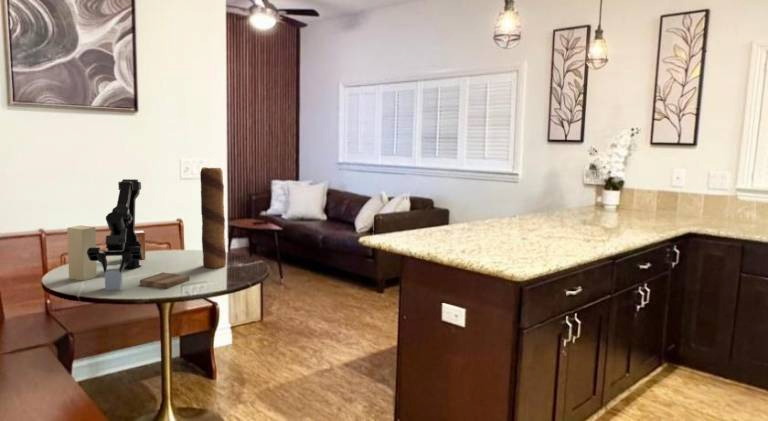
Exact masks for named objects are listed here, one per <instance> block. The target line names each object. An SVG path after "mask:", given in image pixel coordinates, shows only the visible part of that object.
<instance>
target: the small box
mask: <svg viewBox="0 0 768 421" xmlns="http://www.w3.org/2000/svg"><path fill="white" fill-rule="evenodd" d="M135 233H136V235H137V236H138V241H140V244H141V247H142V259H140V260H139V261H142V260H146V232H145V231H144V230H142V229H141V230H135Z"/></svg>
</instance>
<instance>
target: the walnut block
mask: <svg viewBox="0 0 768 421" xmlns="http://www.w3.org/2000/svg"><path fill="white" fill-rule="evenodd" d="M189 281H190V275H185V274H176V273H172V272H171V273H169V272H160V273H157V274H154V275H150V276H148V277H145V278H142V279H140V280H139V285H140V286H147V287H153V288H160V289H168V290H169V289H171V288H172V287H175V286H178V285H181V284H183V283H186V282H189Z"/></svg>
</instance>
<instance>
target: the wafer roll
mask: <svg viewBox="0 0 768 421" xmlns="http://www.w3.org/2000/svg"><path fill="white" fill-rule="evenodd" d="M223 175H224V174H223V170H222V168H221V167H201V169H200V175H199V176H200V201H201V202H200V210H201V213H200V214H201V222H202V224H201V225H202V226H201V245H202V246H201V248H202V249H201V250H202V264H203V267H204V268H207V269H221V268H223V267H225V266H226V265H227V252H226V241H225V240H226V238H225V228H226V227H225V226H226V224H225V223H226V222H225V221H226V218H225V206H224V205H225V203H224V195H225V193H224V192H225V191H224V188H225V185H224V178H223Z"/></svg>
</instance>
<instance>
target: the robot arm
mask: <svg viewBox="0 0 768 421" xmlns="http://www.w3.org/2000/svg"><path fill="white" fill-rule="evenodd" d="M117 185H118V190H119V193H118V199H117V204H116V206H115V207H113V208H112V210H111V212H109V213H107V215H106V216H105V221H106V223H107V228H108V230H109V231H110V233H109V235H106V236H105V245H106V246H105V248H106V249H107V250H105V249H101V248H100V246H96V247H90V248H89V249H88V250H87V254H88V257H89V259H90V260H91V261H96V262H98V263H101V265H102V270H103V273H104V274H105V272H106V270H107V268H108V260H107V257H119V256H120V257H121V262H120V266H119V267H118V269H120V273H121V272H122V273H123V271H124V269H127V270H133V269H136V268H140V267H142V265H141V264H140V261H141V260H140V259H142V247H141V244H140V241H138V236H137V235H136V233H135V231H136V227H135V226H136V199H137V198H138V197H139V195H140V190H142V183H141V181H139V180H138V179H132V178H131V179H130V178H129V179H128V178H127V179H124V178H123V179H122V181H118V184H117ZM142 260H143V259H142Z"/></svg>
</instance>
